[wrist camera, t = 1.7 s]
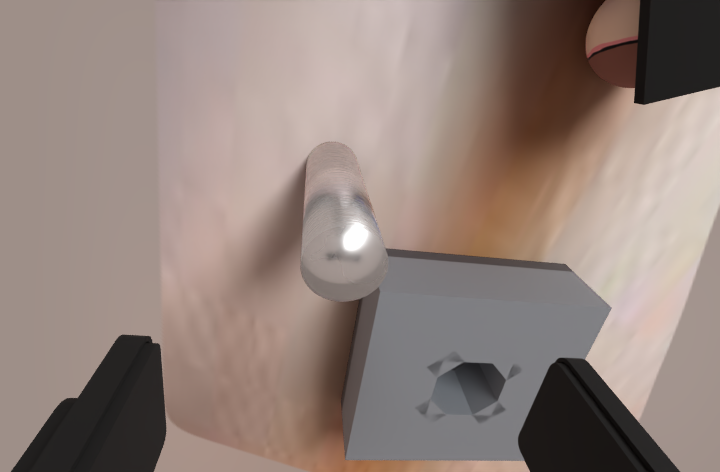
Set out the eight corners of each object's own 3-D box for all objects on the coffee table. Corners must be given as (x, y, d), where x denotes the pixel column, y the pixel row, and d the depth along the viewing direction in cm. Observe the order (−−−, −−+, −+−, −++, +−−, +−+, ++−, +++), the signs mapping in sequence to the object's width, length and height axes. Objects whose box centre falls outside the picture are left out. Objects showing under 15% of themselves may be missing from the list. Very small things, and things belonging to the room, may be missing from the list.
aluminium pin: (308, 138, 23) (304, 222, 13) (361, 145, 23) (395, 230, 13) (303, 188, 24) (297, 298, 14) (354, 194, 25) (380, 304, 15)
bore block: (369, 247, 26) (380, 291, 22) (565, 264, 28) (611, 307, 24) (341, 400, 32) (345, 459, 28) (504, 405, 35) (532, 460, 30)
